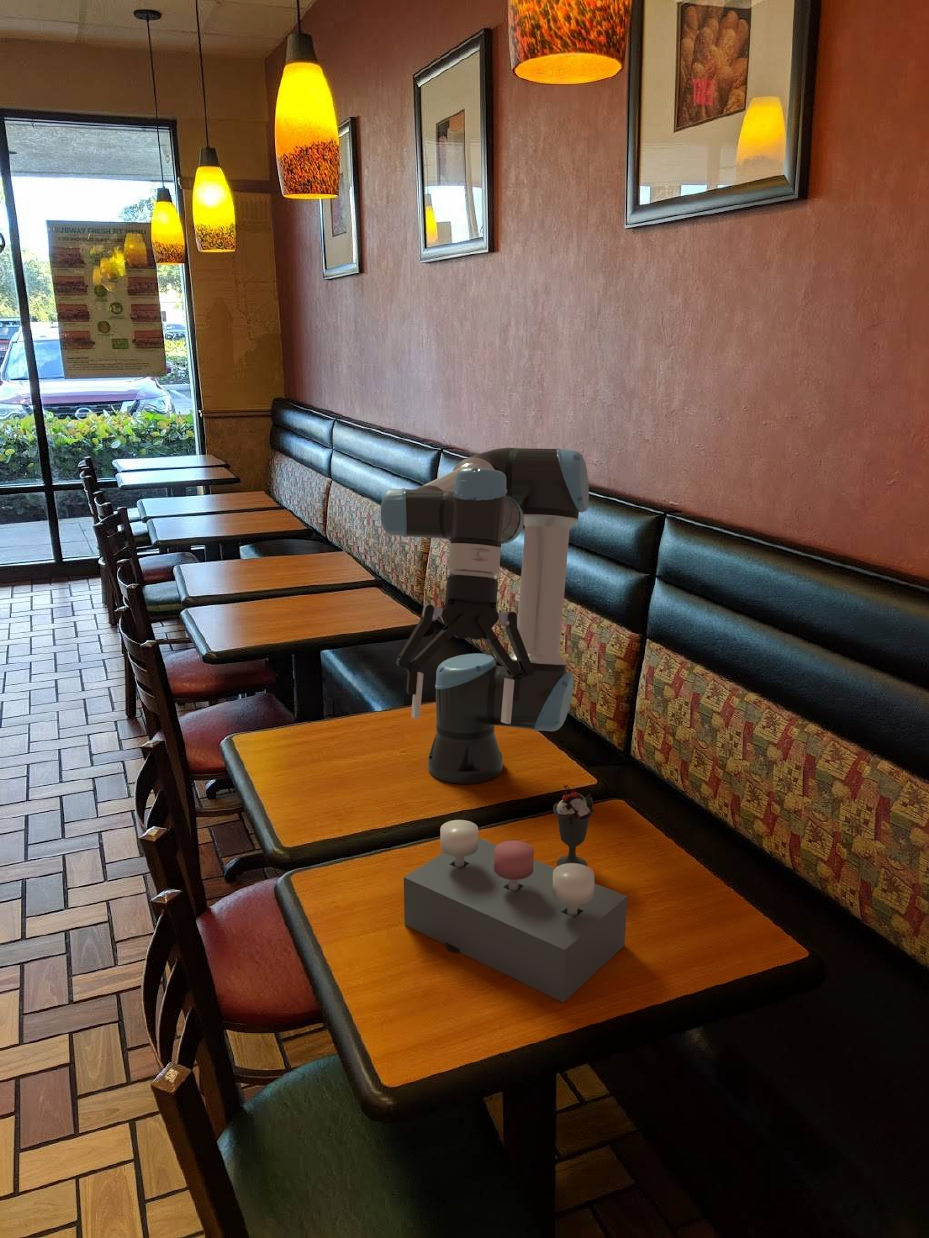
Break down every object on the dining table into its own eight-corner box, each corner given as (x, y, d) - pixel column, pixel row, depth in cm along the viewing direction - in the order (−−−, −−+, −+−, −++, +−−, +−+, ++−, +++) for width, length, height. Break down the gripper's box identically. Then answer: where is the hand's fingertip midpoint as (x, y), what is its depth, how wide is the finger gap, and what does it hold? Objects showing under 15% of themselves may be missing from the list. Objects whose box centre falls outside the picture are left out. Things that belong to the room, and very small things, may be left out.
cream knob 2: (565, 907, 137) (567, 858, 135) (600, 922, 134) (602, 872, 132) (543, 925, 133) (544, 875, 131) (578, 941, 130) (580, 889, 128)
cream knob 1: (456, 861, 150) (456, 816, 147) (485, 874, 146) (485, 827, 144) (433, 877, 145) (432, 830, 143) (462, 889, 142) (462, 842, 140)
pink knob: (509, 883, 144) (509, 836, 141) (540, 897, 140) (541, 848, 138) (486, 900, 139) (486, 851, 137) (517, 914, 136) (518, 864, 134)
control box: (471, 879, 156) (471, 834, 154) (624, 945, 139) (627, 896, 137) (404, 924, 144) (403, 877, 142) (563, 1002, 127) (564, 949, 125)
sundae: (546, 870, 158) (549, 787, 154) (557, 851, 164) (559, 770, 160) (586, 878, 156) (589, 793, 152) (595, 858, 162) (599, 776, 158)
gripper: (393, 566, 135) (380, 718, 135) (562, 582, 141) (550, 728, 141) (384, 568, 142) (372, 712, 142) (546, 583, 148) (534, 721, 148)
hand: (461, 720), depth 142 cm, fingers open, 13 cm apart
